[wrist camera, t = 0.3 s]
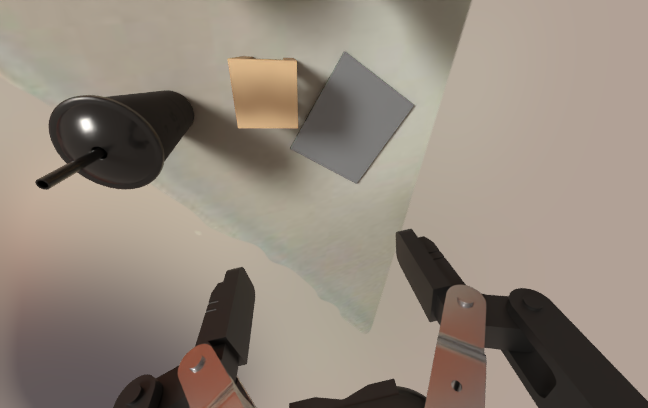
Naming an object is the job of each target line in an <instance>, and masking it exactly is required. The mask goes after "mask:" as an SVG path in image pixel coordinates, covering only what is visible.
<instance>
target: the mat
mask: <svg viewBox="0 0 648 408" xmlns="http://www.w3.org/2000/svg"><path fill="white" fill-rule="evenodd" d="M413 106H414V104H412V103H411V102H410V101H408V100H407V99H406V98H405V97H403V96H402V95H401V94H399V93H398V92H397V91H396V90H394V89H393V88H392V87H390V86H389V85H388V84H386V83H385V82H384V81H383V80H381V79H380V78H379V77H377V76H376V75H375V74H374V73H372V72H371V71H370V70H368V69H367V68H366V67H365V66H363V65H362V64H361V63H359V62H358V61H357V60H355V59H354V58H353V57H352V56H350V55H349V54H348V53H346V52H345V51H344V52H343V54H342V56H341V58H340V60H339V61H338V63H337V65H336V67H335V69H334V70H333V72H332V74H331V76H330V77H329V79H328V81H327V83H326V85H325V86H324V88H323V90H322V92H321V94H320V95H319V97H318V99H317V101H316V103H315V104H314V106H313V108H312V110H311V112H310V113H309V115H308V117H307V119H306V121H305V122H304V124H303V126H302V128H301V130H300V131H299V133H298V135H297V137H296V139H295V140H294V142H293V144H292V146H291V147H290V149H292V150H293V151H295V152H297V153H299V154H301V155H303V156H305V157H307V158H309V159H310V160H312V161H314V162H316V163H318V164H320V165H322V166H324V167H326V168H327V169H329V170H331V171H333V172H335V173H337V174H339V175H341V176H343V177H344V178H346V179H348V180H350V181H352V182H354V183H356V184H357V182H358V181H359V180H360V178H361V177H362V176H363V174H364V173H365V171H366V170H367V169H368V167H369V166H370V165H371V163H372V162H373V161H374V159H375V158H376V156H377V155H378V154H379V152H380V151H381V150H382V148H383V147H384V146H385V144H386V143H387V141H388V140H389V139H390V137H391V136H392V135H393V133H394V132H395V131H396V129H397V128H398V126H399V125H400V124H401V122H402V121H403V120H404V118H405V117H406V116H407V114H408V113H409V111H410V110H411V109H412V107H413Z"/></svg>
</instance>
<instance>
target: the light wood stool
mask: <svg viewBox="0 0 648 408" xmlns="http://www.w3.org/2000/svg"><path fill="white" fill-rule="evenodd" d="M228 65H229V72H230V78H231V85H232V92H233V98H234V105H235V112H236V118H237V125H238V128H298V101H297V61H296V60H295V59H294V58H283V60H273V59H253V57H246V56H242V57H235V58H229V59H228Z"/></svg>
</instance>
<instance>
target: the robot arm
mask: <svg viewBox="0 0 648 408" xmlns="http://www.w3.org/2000/svg"><path fill="white" fill-rule="evenodd" d="M396 254H397V259H398V262H399V264H400V266H401V268H402V270H403V272H404V274H405V276H406V278H407V280H408V282H409V283H410V285H411V287H412V289H413V291H414V293H415V295H416V297H417V299H418V300H419V302H420V304H421V306H422V308H423V310H424V312H425V314H426V316H427V318H428V320H429V322H433V321H438V323H439V324H440V330H439V336H438V339H437V344H436V350H435V355H434V360H433V366H432V371H431V376H430V382H429V387H428V392H427V397H425V396H424V395H422V394H420V393H418V392H416V391H414V390H411V389H409V388H405V387H399V386H396V383H395V380H394V379H391V380H386V381H382V382H378V383H374V384H370V385H367V386H365V387H364V388H362V389H360V390H359V391H357V392H355V393H354V394H352V395H350V396H349V397H347V398H345V399H342V400H339V399H328V398H317V397H315V398H310V399H306V400H302V401H298V402H293V403H290V404H289V408H485V388H486V355H485V354H484V348H493V349H501V351H502V352H503V354H504V355H505V357H506V358H507V360H508V361H509V363H510V365H511V366H512V368H513V369H514V371H515V372H516V374H517V375H518V377H519V378H520V380H521V381H522V383H523V385H524V386H525V388H526V389H527V391H528V392H529V394H530V395H531V397H532V399H533V400H534V402H535V403H536V405H537V406H538V408H648V401H647V400H646V399H645V398H644V397H643V396H642V395H641V394H640V393H639V392H638V391H637V390H636V389H635V388H634V387H633V386H632V385H631V383H630V382H629V381H628V380H627V379H626V378H625V377H624V376H623V375H622V374H621V373H620V372H619V371H618V370H617V369H616V368H615V367H614V366H613V365H612V364H611V363H610V362H609V361H608V360H607V359H606V358H605V356H603V355H602V353H601V352H600V351H599V350H598V349H597V348H596V347H595V346H594V345H593V344H592V343H591V342H590V341H589V340H588V339H587V338H586V337H585V336H584V335H583V334H582V333H581V332H580V331H579V329H578V328H577V327H576V326H575V325H574V324H573V323H572V322H571V321H570V320H569V319H568V318H567V317H566V316H565V315H564V314H563V313H562V312H561V311H560V310H559V309H558V308H557V307H556V306H555V305H554V304H553V303H552V302H551V301H550V300H549V299H548V298H547V297H546V296H544V295H543V294H541V293H539V292H537V291H534V290H531V289H525V288H520V289H515V290H513V291H512V292H511V293H510V295H509V296H495V295H485V294H481V293H480V292H479V291H477V290H476V289H474V288H472V287H470V286H467V285H466V284H465V283H464V282H463V281H462V279H461V278H460V277H459V276H458V274H457V273H456V272H455V270H454V269H453V268H452V267H451V265H450V264H449V262H448V261H447V260H446V259H445V258H444V256H443V254H442V253H441V252H440V251H439V249H438V248H437V246H436V245H435V244H434V243H433V242H432V241H431V240H429V239H427V238H426V237H419V238H418V237H417V236H416V234H415V233H414V232H413V230H412V229H408V230H403V231H399V232H396ZM254 302H255V290H254V286H253V284H252V282H251V280H250V278H249V277H248V275H247V273H246V271H245V269H244V268H243V267H240V268H236V269H231V270H228V271H227V272H226V274H225V278H224V281H223V282H221V283H218V284H217V286H216V287H215V289H214V290H213V292H212V293H211V297H210V300H209V305H208V306H207V310H206V313H205V316H204V320H203V323H202V326H201V330H200V333H199V336H198V339H197V342H196V346H195V347H194V348H193V349H191V350H190V351H189V352H188V353H187V354H186V355H185V356H184V357H183V359H182V360H181V362H180V365H179V366H177V367H176V368H174V369H172V370H170V371H168V372H167V373H165V374H163V375H161V376H160V377H158V378H154V377H153V376H152V375H142V376H140V377H138V378H136V379H135V380H133V381H132V382H130V383H129V384H128V385H127V386H126V387H125V389H124V390H123V391H122V392H121V394H120V395H119V397H118V398H117V400H116V402H115V405H114V407H113V408H257V407H256V406H255V404H254V403H253V401H252V399H251V398H250V396H249V394H248V393H247V391H246V390H245V388H244V386H243V385H242V383H241V381H240V380H239V378H238V376H237V370H238V366H241V365H245V364H247V358H248V350H249V342H250V334H251V326H252V318H253V310H254Z"/></svg>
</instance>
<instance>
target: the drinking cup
mask: <svg viewBox="0 0 648 408" xmlns="http://www.w3.org/2000/svg"><path fill="white" fill-rule="evenodd" d="M193 120H194V112H193V109H192V106H191V105H190V103H189V102H188V101H187V99H186V98H184V97H183V96H182V95H180V94H178V93H176V92H173V91H157V92H148V93H138V94H129V95H119V96H110V97H101V96H95V95H83V96H76V97H73V98H69V99H67V100H65V101H63V102H61V103H60V104H59V105H57V107H56V108H55V109H54V110H53V112H52V114H51V116H50V120H49V134H50V138H51V141H52V143H53V145H54V147H55V149H56V151H57V152H58V154H59V155H60V156H61V158H62V159H63V160H64V161H65V162H66V163H67V164H66V165H64V166H62V167H60V168H58V169H57V170H55V171H53V172H51V173H49V174H47V175H45V176H43V177H41V178H39V179H38V180H36V185H37V186H38V187H39V188H41V189H49V188H51V187H53V186H55V185H56V184H58V183H60V182H61V181H63V180H65V179H66V178H68V177H70V176H71V175H73V174H75V173H76V172H77V173H79V174H81V175H82V176H84V177H85V178H87V179H89V180H91V181H93V182H95V183H97V184H100V185H103V186H106V187H110V188H116V189H135V188H139V187H142V186H145V185H147V184H149V183H151V182H152V181H153V180H154V179H156V177H157V176H158V175H159V174H160V172H161V170H162V168H163V165H164V161H165V160H166V159H167V157H168V156H169V154H170V153H171V152H172V150H173V149H174V148H175V146H176V145H177V144H178V142H179V141H180V139H181V138H182V137H183V135H184V134H185V133H186V131H187V130H188V128H189V127H190V126H191V124H192V123H193Z"/></svg>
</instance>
